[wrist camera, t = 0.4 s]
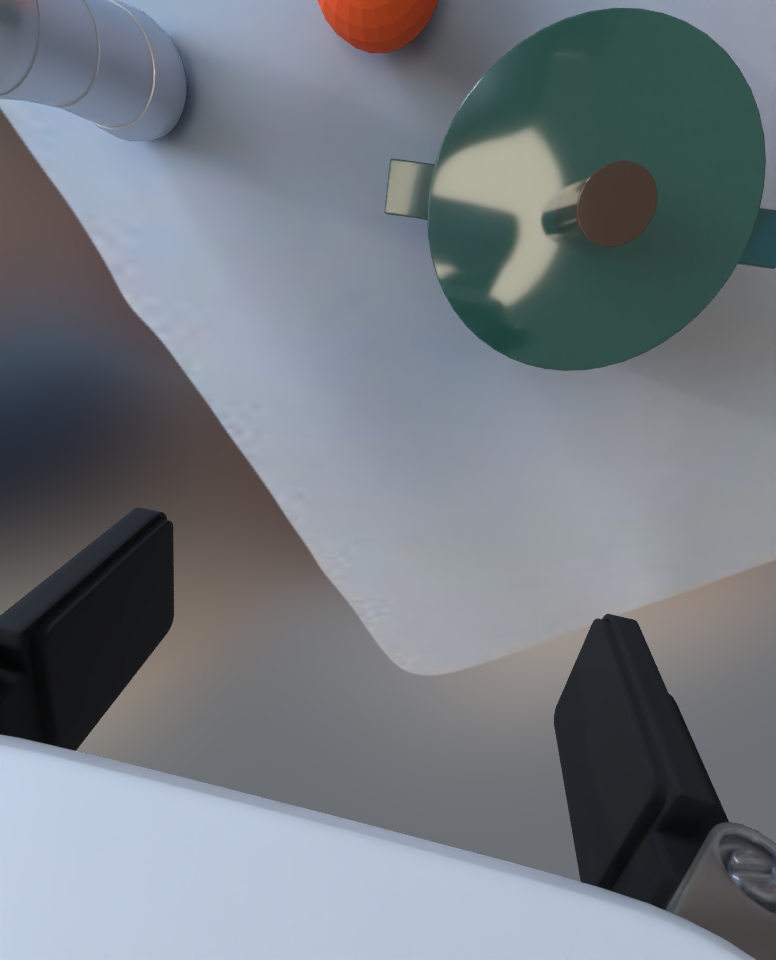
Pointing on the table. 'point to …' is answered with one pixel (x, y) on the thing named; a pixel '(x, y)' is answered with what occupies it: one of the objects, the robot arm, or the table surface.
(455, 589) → the table surface
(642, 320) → the pot lid
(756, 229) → the pot
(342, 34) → the clementine
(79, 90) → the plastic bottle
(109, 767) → the robot arm
